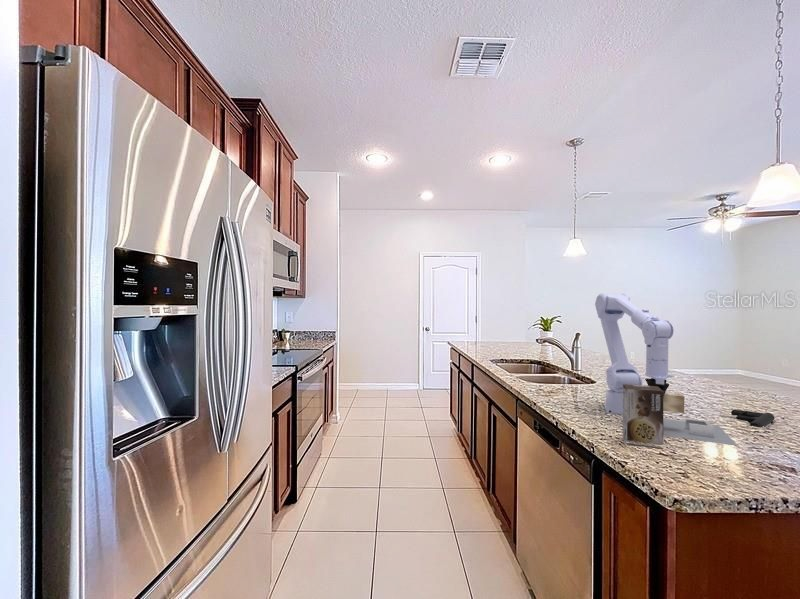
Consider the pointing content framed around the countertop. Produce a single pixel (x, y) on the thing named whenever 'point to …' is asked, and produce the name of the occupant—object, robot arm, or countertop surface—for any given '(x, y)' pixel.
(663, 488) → the countertop surface
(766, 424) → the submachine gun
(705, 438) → the board
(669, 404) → the slat
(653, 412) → the coffee box
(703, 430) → the end cap
